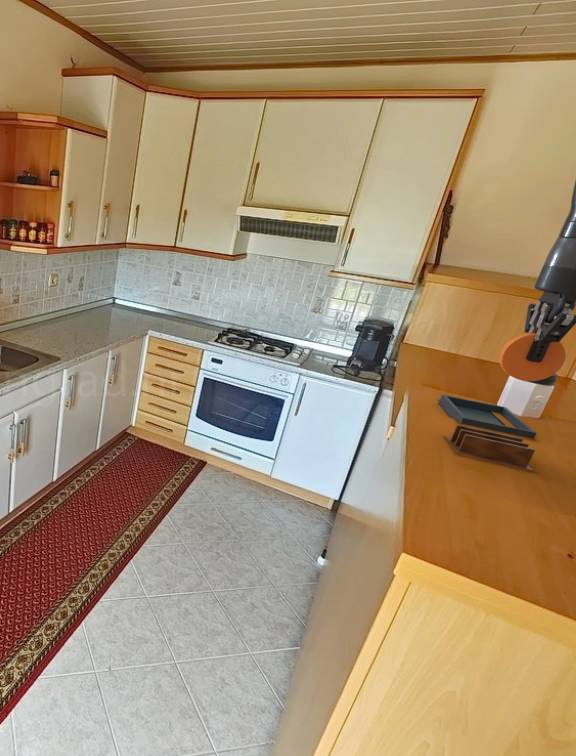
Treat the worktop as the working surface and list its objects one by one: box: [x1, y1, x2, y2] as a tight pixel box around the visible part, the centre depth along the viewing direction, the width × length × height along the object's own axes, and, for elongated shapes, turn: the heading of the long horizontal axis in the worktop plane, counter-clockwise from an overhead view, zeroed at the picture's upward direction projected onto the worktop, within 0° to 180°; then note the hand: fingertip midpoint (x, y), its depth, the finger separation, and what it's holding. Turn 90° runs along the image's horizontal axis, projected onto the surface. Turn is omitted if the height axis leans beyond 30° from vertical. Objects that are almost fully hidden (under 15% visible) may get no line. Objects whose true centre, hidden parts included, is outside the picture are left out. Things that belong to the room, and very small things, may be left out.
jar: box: [496, 373, 559, 419], centre depth 124 cm, size 9×8×12 cm
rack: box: [445, 424, 536, 471], centre depth 98 cm, size 12×9×5 cm
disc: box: [498, 333, 567, 381], centre depth 91 cm, size 9×2×9 cm, turn 67°
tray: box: [438, 394, 538, 440], centre depth 117 cm, size 14×18×3 cm
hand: (530, 359), depth 91 cm, fingers closed on disc, 1 cm apart
